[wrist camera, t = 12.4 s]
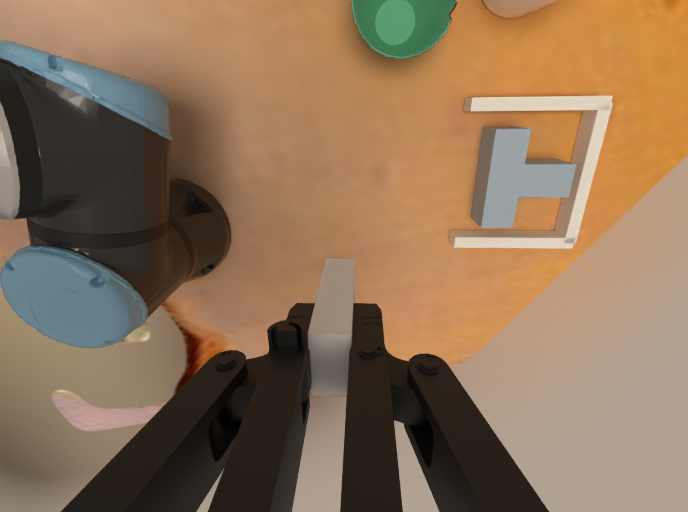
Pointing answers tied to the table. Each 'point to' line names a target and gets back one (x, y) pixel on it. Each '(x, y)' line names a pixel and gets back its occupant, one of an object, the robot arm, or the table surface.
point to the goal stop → (583, 156)
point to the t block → (513, 176)
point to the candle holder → (515, 7)
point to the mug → (402, 25)
